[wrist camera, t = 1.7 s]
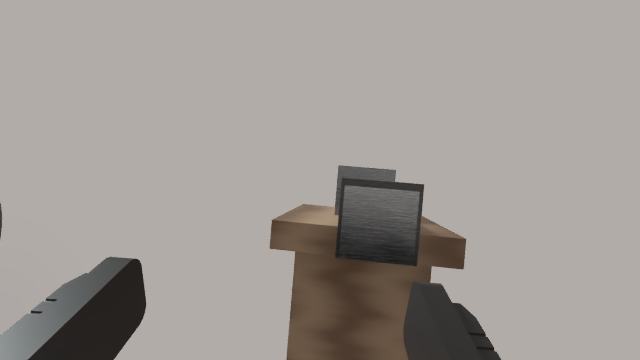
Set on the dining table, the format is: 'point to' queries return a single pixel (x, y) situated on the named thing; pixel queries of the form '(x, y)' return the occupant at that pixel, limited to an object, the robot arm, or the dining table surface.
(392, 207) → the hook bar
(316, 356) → the wooden block tower
